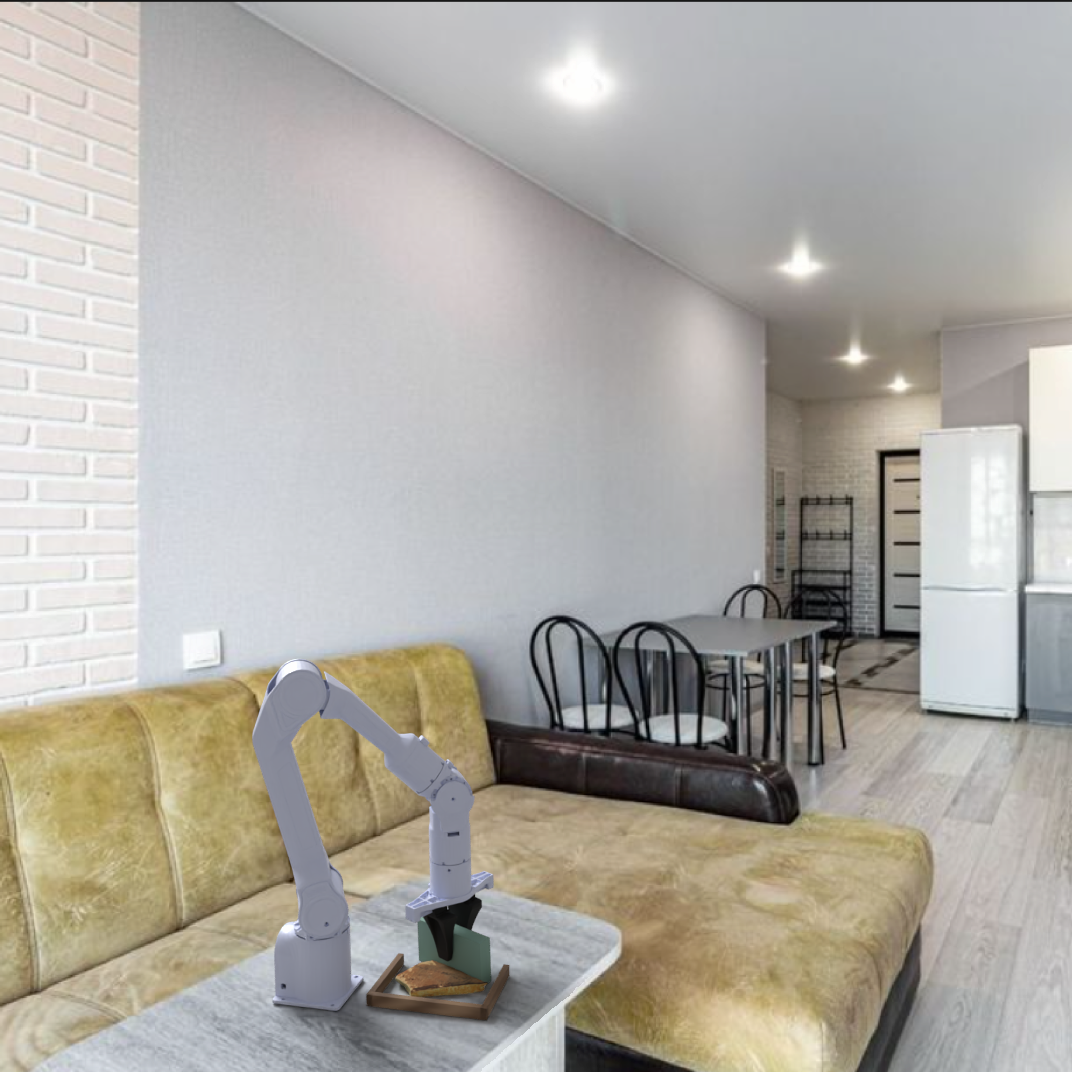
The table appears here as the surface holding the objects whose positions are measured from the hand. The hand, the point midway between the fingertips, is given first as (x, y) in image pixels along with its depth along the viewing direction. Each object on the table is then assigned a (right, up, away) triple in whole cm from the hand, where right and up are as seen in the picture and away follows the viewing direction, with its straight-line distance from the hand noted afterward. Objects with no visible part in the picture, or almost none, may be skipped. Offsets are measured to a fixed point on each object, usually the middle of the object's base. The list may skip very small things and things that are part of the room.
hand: (452, 954), depth 123 cm
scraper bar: (0, -2, 0) cm, 2 cm away
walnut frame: (-1, -2, -5) cm, 5 cm away
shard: (-1, -3, -3) cm, 4 cm away
